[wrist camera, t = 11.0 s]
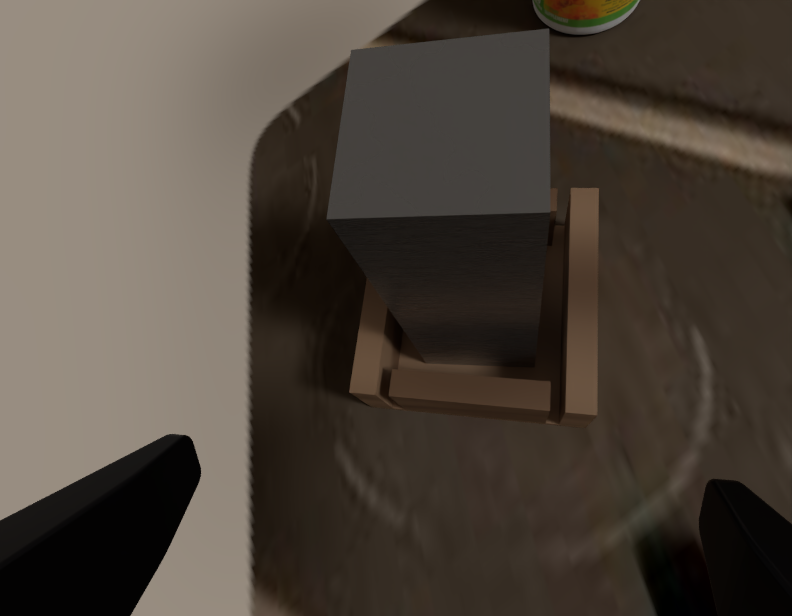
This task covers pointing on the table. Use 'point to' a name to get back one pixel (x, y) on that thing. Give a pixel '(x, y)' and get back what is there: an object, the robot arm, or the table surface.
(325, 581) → the table surface
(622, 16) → the supplement bottle
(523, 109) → the steel square block
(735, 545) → the robot arm
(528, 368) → the wooden square frame
